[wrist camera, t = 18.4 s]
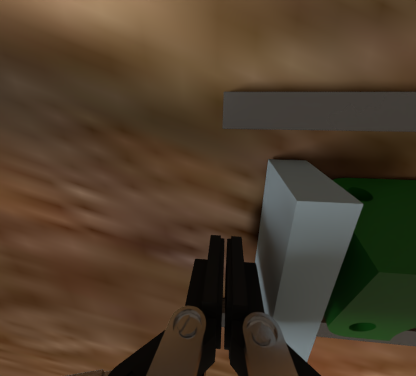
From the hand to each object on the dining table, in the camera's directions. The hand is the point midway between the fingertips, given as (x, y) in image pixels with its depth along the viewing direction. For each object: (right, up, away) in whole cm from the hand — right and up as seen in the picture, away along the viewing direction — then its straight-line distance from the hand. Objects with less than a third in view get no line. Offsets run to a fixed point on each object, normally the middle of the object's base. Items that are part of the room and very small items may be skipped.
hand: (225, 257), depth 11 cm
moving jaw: (+3, +1, +2) cm, 4 cm away
